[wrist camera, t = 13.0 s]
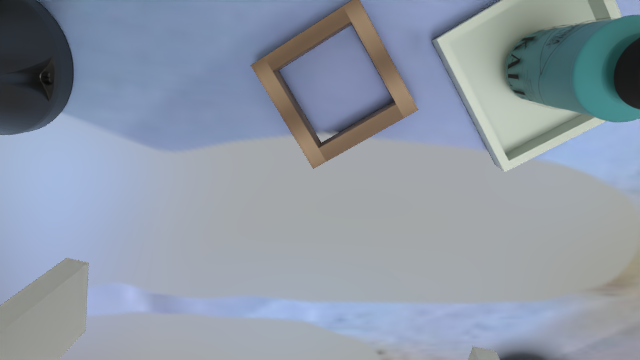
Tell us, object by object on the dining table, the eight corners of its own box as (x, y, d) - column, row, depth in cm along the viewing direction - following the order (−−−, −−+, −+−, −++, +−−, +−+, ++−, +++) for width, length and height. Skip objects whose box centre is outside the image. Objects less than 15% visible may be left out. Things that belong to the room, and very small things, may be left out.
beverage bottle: (583, 65, 40) (789, 69, 21) (525, 116, 42) (664, 163, 22) (538, 13, 39) (707, -33, 20) (480, 67, 41) (584, 73, 22)
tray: (431, 40, 41) (436, 39, 38) (575, -45, 38) (592, -54, 35) (495, 164, 44) (504, 172, 41) (634, 93, 41) (655, 96, 38)
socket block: (258, 65, 43) (250, 65, 40) (357, 1, 41) (357, -4, 38) (316, 162, 45) (313, 168, 42) (414, 106, 43) (418, 110, 40)
